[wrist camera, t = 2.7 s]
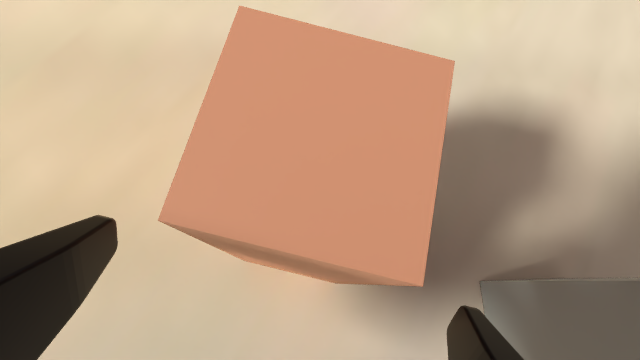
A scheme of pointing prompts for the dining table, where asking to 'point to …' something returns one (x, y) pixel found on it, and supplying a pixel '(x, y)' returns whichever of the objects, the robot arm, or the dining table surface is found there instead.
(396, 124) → the terracotta block
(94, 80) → the dining table surface
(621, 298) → the slate grey block
